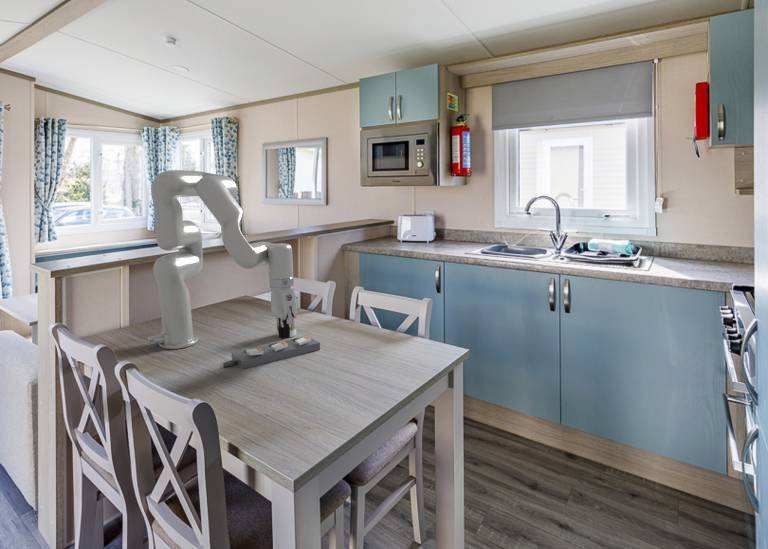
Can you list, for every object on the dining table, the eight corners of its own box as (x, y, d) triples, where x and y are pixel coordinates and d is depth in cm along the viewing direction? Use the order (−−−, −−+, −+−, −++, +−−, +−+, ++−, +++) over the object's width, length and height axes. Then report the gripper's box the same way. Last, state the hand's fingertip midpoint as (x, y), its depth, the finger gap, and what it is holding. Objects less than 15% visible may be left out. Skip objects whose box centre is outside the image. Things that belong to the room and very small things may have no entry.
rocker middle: (275, 351, 145) (275, 348, 145) (271, 348, 148) (270, 345, 147) (288, 346, 148) (287, 343, 147) (283, 343, 150) (283, 340, 150)
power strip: (229, 372, 136) (228, 363, 135) (219, 362, 143) (218, 354, 142) (320, 349, 154) (319, 342, 154) (307, 342, 161) (307, 335, 161)
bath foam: (276, 338, 165) (273, 285, 161) (278, 332, 172) (275, 280, 168) (295, 337, 166) (293, 284, 162) (296, 331, 173) (294, 280, 169)
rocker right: (299, 345, 150) (299, 342, 150) (295, 342, 153) (294, 340, 152) (311, 340, 153) (310, 338, 152) (306, 338, 155) (306, 335, 155)
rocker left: (249, 355, 140) (250, 352, 140) (245, 352, 142) (246, 349, 142) (263, 354, 143) (263, 351, 143) (259, 351, 145) (259, 348, 145)
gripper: (303, 285, 141) (305, 341, 144) (282, 277, 152) (285, 329, 156) (280, 288, 136) (283, 346, 140) (261, 280, 148) (264, 334, 151)
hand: (284, 337), depth 148 cm, fingers closed
